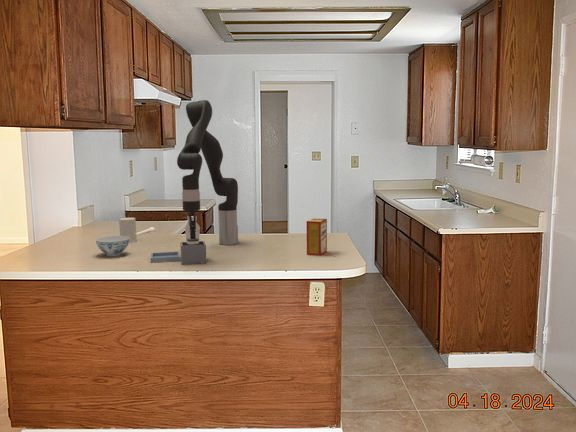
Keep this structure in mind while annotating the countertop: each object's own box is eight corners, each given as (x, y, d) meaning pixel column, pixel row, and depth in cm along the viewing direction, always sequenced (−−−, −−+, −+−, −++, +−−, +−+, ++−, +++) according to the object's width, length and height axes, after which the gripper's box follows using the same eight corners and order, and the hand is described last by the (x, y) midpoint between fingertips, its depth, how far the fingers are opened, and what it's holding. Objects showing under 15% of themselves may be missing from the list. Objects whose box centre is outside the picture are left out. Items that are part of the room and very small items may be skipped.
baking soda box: (320, 255, 266) (320, 221, 263) (306, 254, 268) (306, 220, 266) (326, 251, 274) (326, 217, 272) (313, 250, 277) (313, 217, 274)
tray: (179, 255, 270) (179, 251, 270) (180, 261, 259) (179, 256, 258) (151, 257, 267) (151, 252, 267) (150, 262, 256) (150, 258, 256)
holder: (204, 258, 263) (204, 240, 262) (206, 263, 254) (205, 244, 253) (180, 259, 261) (180, 242, 260) (181, 264, 252) (180, 246, 251)
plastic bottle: (186, 260, 261) (184, 215, 258) (201, 259, 261) (200, 215, 258) (185, 263, 254) (183, 217, 251) (200, 262, 255) (199, 217, 252)
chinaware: (95, 253, 277) (94, 237, 276) (127, 250, 283) (126, 234, 282) (98, 259, 264) (97, 242, 263) (132, 256, 270) (131, 239, 269)
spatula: (128, 240, 312) (128, 235, 312) (122, 240, 313) (121, 234, 313) (156, 231, 338) (156, 226, 338) (150, 231, 340) (150, 226, 339)
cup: (132, 243, 302) (131, 220, 300) (117, 242, 303) (116, 219, 302) (139, 240, 310) (138, 217, 308) (125, 239, 311) (123, 217, 310)
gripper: (201, 201, 247) (202, 240, 250) (198, 197, 261) (200, 234, 264) (183, 201, 246) (184, 241, 248) (181, 198, 260) (183, 235, 262)
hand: (192, 237), depth 256 cm, fingers closed on plastic bottle, 6 cm apart
